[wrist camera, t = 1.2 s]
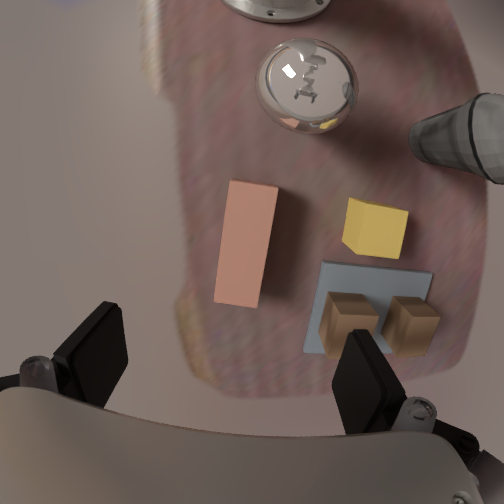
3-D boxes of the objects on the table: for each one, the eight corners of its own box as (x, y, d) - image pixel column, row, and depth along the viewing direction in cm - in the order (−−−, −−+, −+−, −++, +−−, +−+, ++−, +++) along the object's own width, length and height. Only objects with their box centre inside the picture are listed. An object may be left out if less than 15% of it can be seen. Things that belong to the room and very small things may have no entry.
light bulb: (241, 121, 25) (230, 86, 13) (276, 65, 23) (290, 3, 11) (305, 157, 26) (343, 150, 14) (339, 100, 24) (392, 62, 12)
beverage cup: (404, 178, 26) (566, 213, 7) (390, 111, 24) (545, 70, 5) (453, 170, 25) (596, 197, 6) (440, 108, 23) (582, 89, 4)
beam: (233, 178, 27) (230, 180, 23) (275, 185, 27) (278, 188, 23) (218, 284, 30) (213, 301, 26) (256, 290, 30) (256, 308, 26)
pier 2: (392, 295, 29) (412, 316, 24) (419, 297, 29) (440, 316, 24) (380, 333, 30) (396, 357, 25) (406, 333, 30) (424, 355, 26)
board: (322, 260, 29) (323, 263, 28) (429, 271, 29) (432, 274, 28) (303, 348, 32) (303, 352, 31) (402, 349, 32) (405, 352, 31)
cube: (349, 197, 27) (365, 203, 22) (387, 204, 27) (408, 211, 23) (341, 240, 28) (356, 254, 24) (379, 245, 28) (398, 259, 24)
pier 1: (327, 291, 29) (340, 314, 24) (362, 293, 29) (379, 316, 24) (317, 331, 30) (327, 358, 25) (350, 333, 30) (364, 358, 25)
